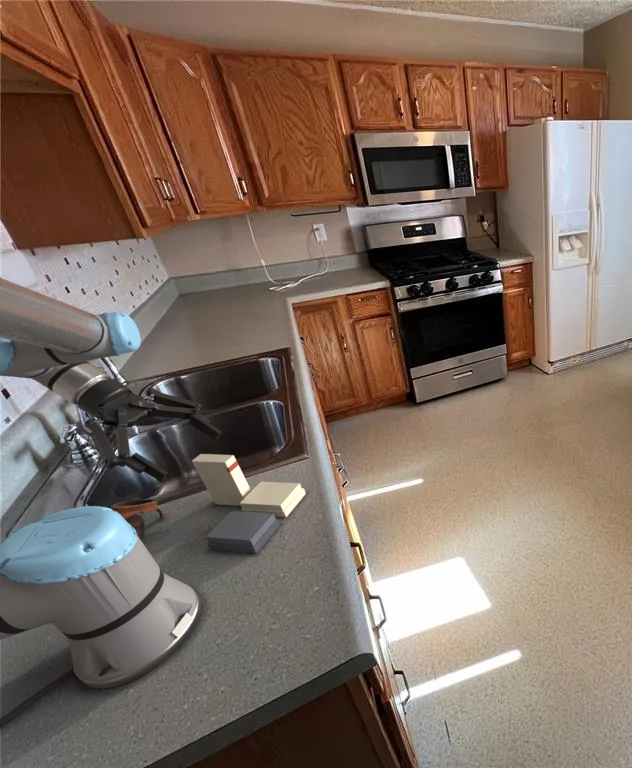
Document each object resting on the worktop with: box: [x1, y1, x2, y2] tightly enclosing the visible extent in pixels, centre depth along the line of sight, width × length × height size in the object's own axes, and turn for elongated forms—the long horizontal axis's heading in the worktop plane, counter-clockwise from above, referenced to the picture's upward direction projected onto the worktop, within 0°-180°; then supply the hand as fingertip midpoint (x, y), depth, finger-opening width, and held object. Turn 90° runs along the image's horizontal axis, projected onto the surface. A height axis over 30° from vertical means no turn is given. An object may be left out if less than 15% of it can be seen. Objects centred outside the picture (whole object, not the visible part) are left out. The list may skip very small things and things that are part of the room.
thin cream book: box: [191, 453, 252, 507], centre depth 88 cm, size 2×8×12 cm, turn 81°
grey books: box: [205, 510, 281, 554], centre depth 81 cm, size 7×10×3 cm
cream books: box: [240, 481, 307, 518], centre depth 89 cm, size 7×10×3 cm
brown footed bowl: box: [109, 498, 165, 540], centre depth 84 cm, size 12×10×8 cm
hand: (193, 455), depth 86 cm, fingers open, 13 cm apart
